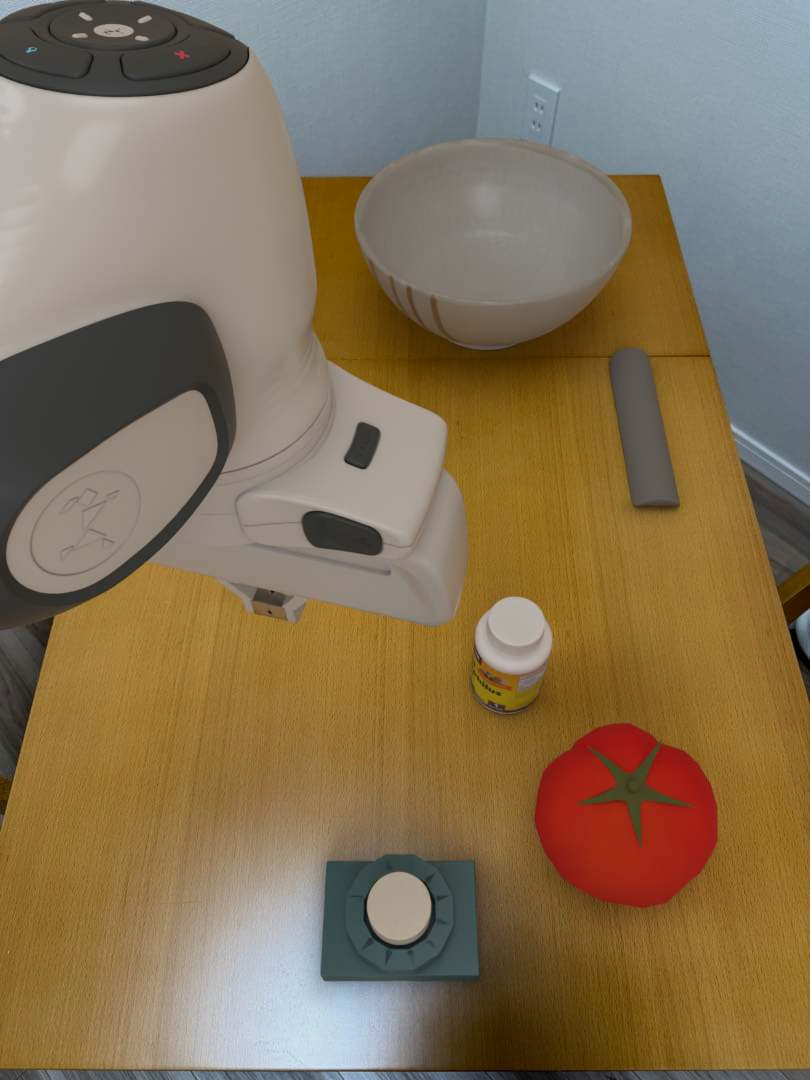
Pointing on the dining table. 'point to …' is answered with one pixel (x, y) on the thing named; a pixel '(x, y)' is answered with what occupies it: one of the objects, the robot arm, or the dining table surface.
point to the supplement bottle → (510, 655)
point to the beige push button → (399, 908)
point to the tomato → (626, 816)
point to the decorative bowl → (491, 238)
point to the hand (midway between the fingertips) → (277, 607)
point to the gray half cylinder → (642, 430)
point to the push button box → (429, 958)
